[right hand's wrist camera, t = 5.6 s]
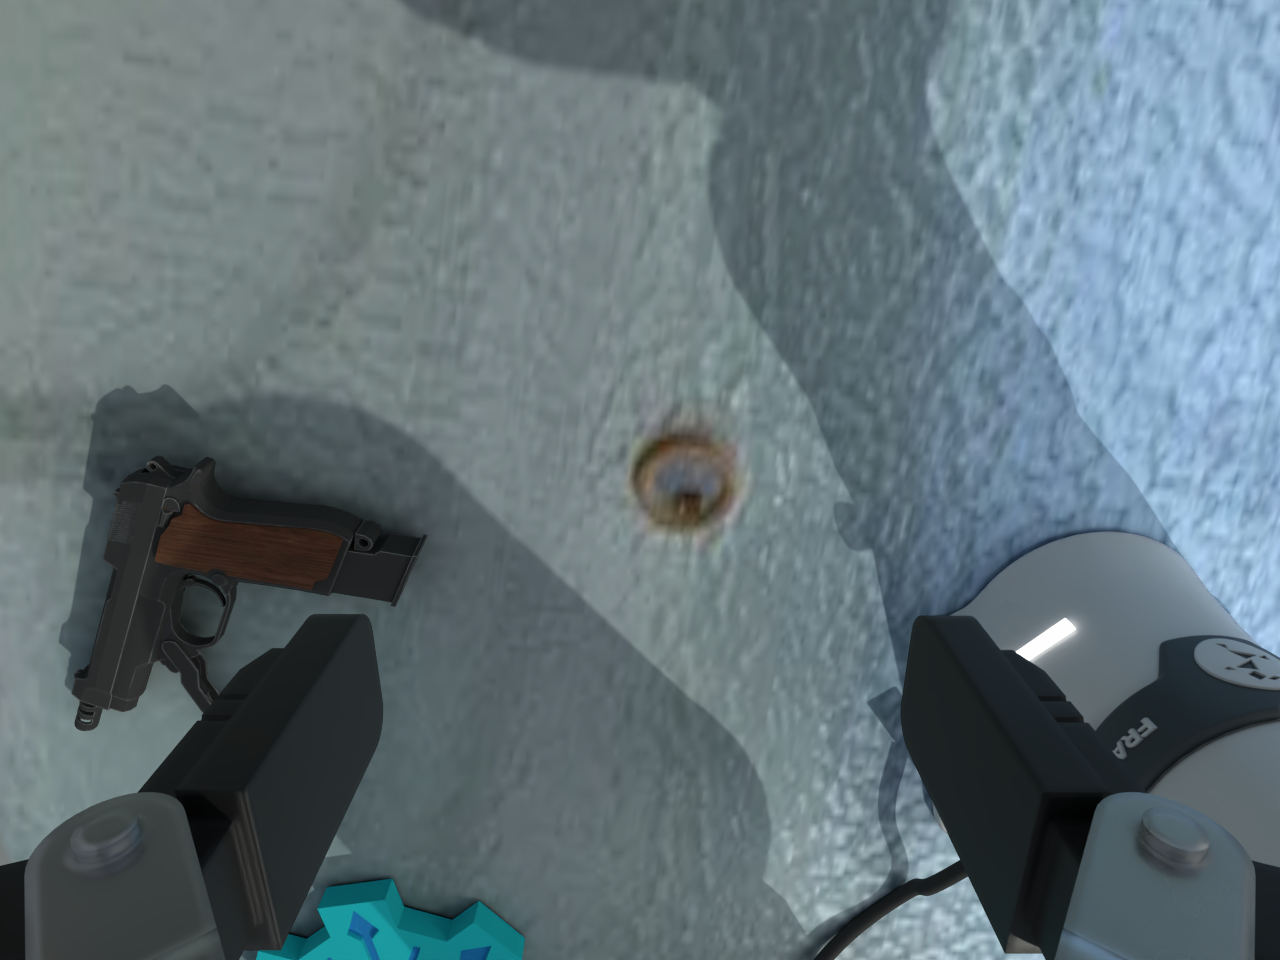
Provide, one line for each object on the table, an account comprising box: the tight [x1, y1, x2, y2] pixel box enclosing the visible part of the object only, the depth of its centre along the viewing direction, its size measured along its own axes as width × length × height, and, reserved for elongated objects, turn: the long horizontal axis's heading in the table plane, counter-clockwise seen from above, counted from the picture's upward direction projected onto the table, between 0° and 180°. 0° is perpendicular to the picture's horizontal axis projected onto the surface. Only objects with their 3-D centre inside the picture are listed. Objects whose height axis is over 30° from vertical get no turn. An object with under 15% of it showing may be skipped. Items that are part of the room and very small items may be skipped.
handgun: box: [72, 456, 428, 731], centre depth 44 cm, size 4×21×15 cm
